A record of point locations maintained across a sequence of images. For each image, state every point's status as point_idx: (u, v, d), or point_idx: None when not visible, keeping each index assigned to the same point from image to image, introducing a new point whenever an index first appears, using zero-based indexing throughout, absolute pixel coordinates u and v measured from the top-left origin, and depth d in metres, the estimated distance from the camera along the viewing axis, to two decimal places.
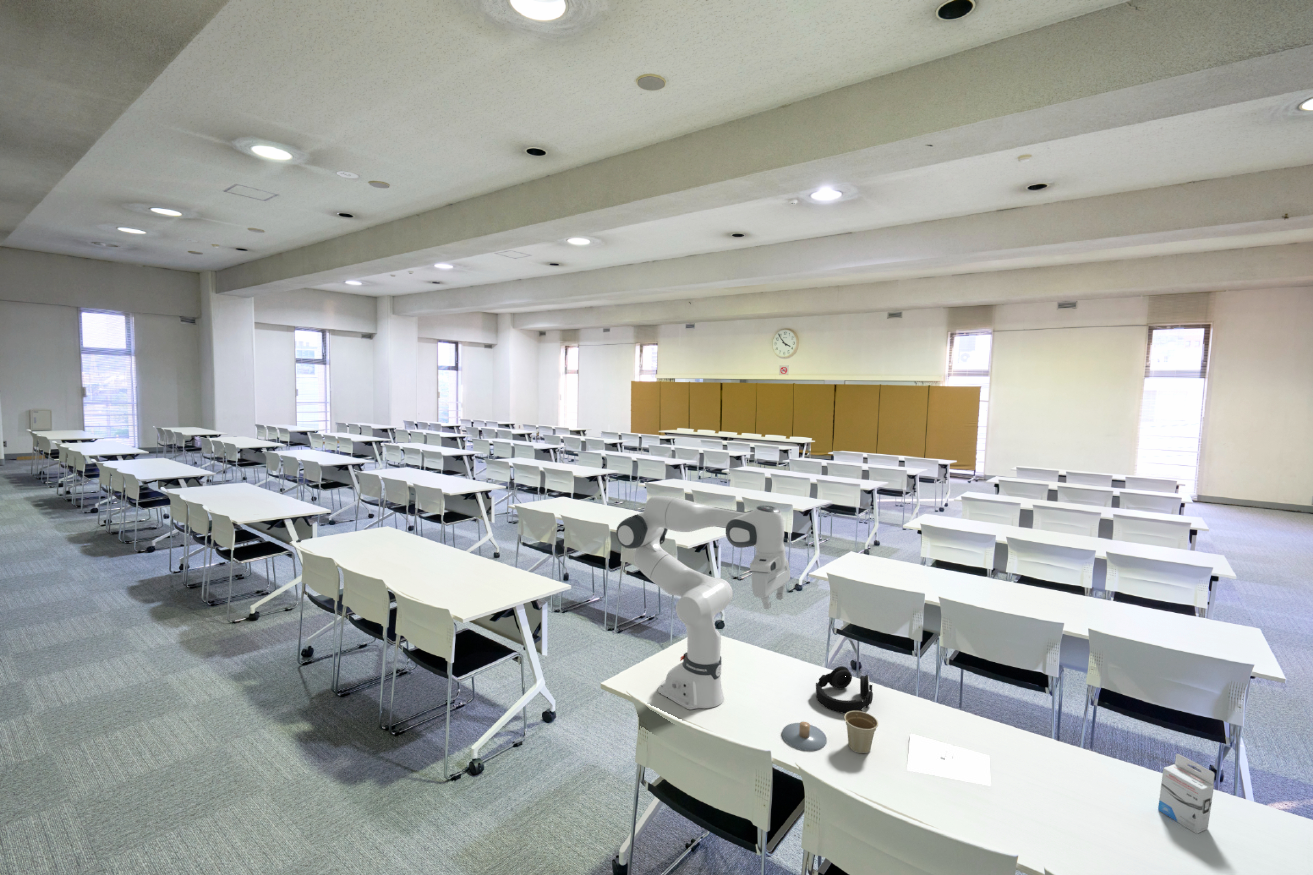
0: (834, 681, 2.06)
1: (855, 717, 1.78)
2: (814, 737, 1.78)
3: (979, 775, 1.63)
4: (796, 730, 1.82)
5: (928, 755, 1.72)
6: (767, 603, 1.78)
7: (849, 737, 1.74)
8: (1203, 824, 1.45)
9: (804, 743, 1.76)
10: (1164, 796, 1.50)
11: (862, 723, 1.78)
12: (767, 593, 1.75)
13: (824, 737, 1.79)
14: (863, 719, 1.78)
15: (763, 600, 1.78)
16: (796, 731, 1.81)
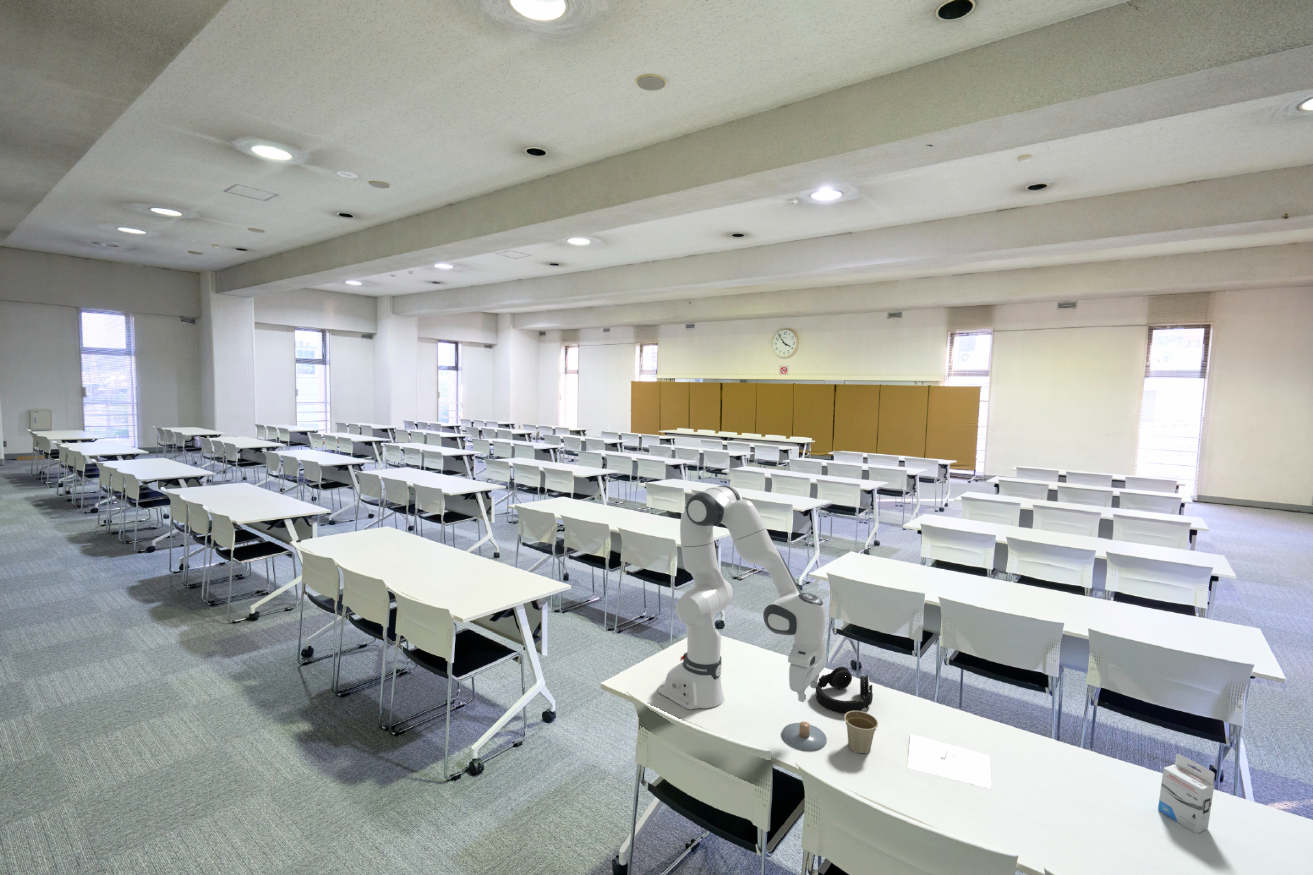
0: (834, 681, 2.05)
1: (855, 717, 1.78)
2: (814, 737, 1.78)
3: (979, 775, 1.63)
4: (796, 730, 1.82)
5: (928, 755, 1.72)
6: (802, 696, 1.73)
7: (849, 737, 1.74)
8: (1203, 824, 1.45)
9: (804, 743, 1.76)
10: (1164, 796, 1.50)
11: (862, 723, 1.78)
12: (804, 688, 1.70)
13: (824, 737, 1.79)
14: (863, 719, 1.78)
15: (798, 692, 1.73)
16: (796, 731, 1.81)
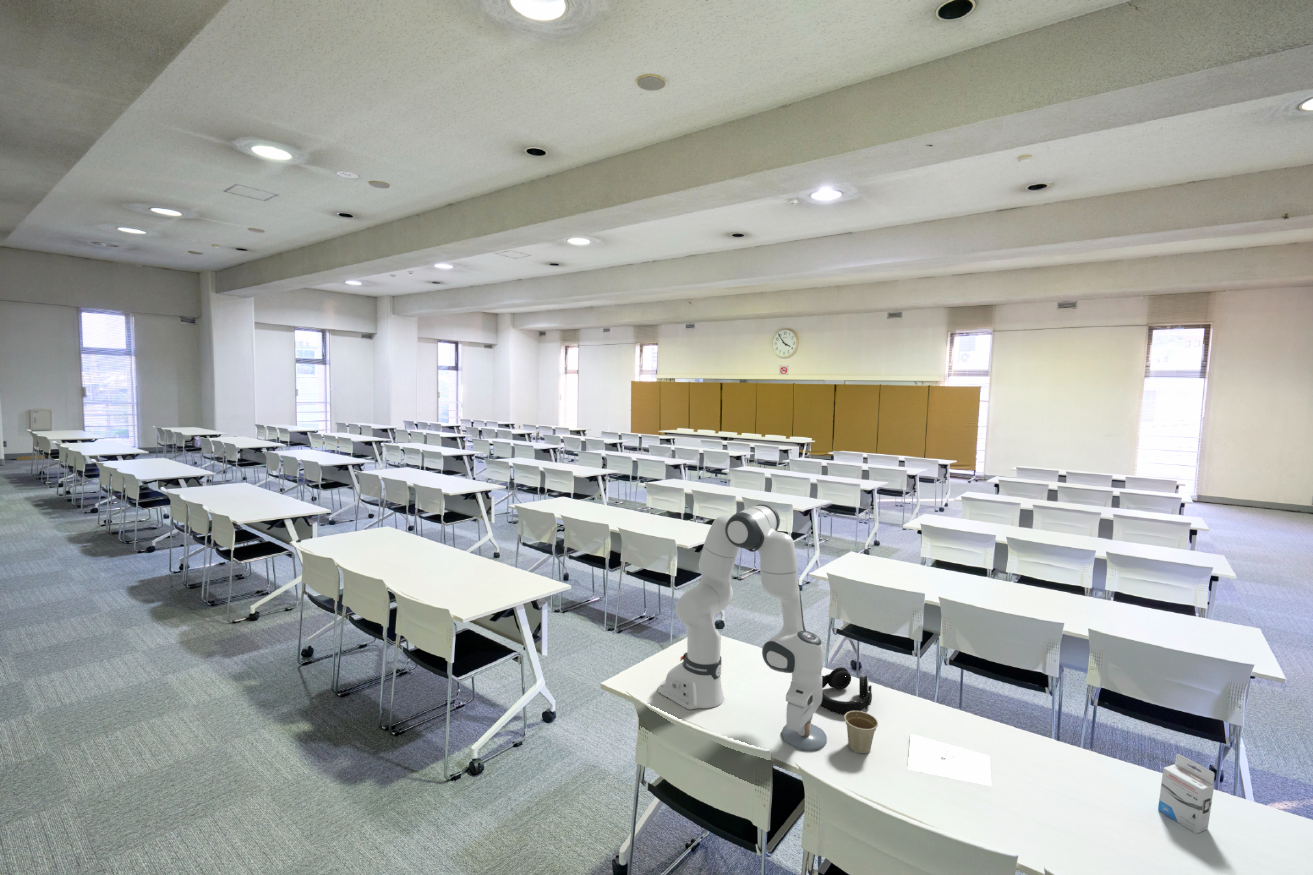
0: (833, 682, 2.05)
1: (855, 717, 1.78)
2: (814, 736, 1.78)
3: (980, 776, 1.63)
4: None
5: (928, 755, 1.72)
6: (802, 730, 1.76)
7: (849, 737, 1.74)
8: (1203, 824, 1.45)
9: (804, 742, 1.75)
10: (1164, 796, 1.50)
11: (862, 723, 1.78)
12: (801, 727, 1.71)
13: (824, 736, 1.79)
14: (863, 719, 1.78)
15: None
16: None
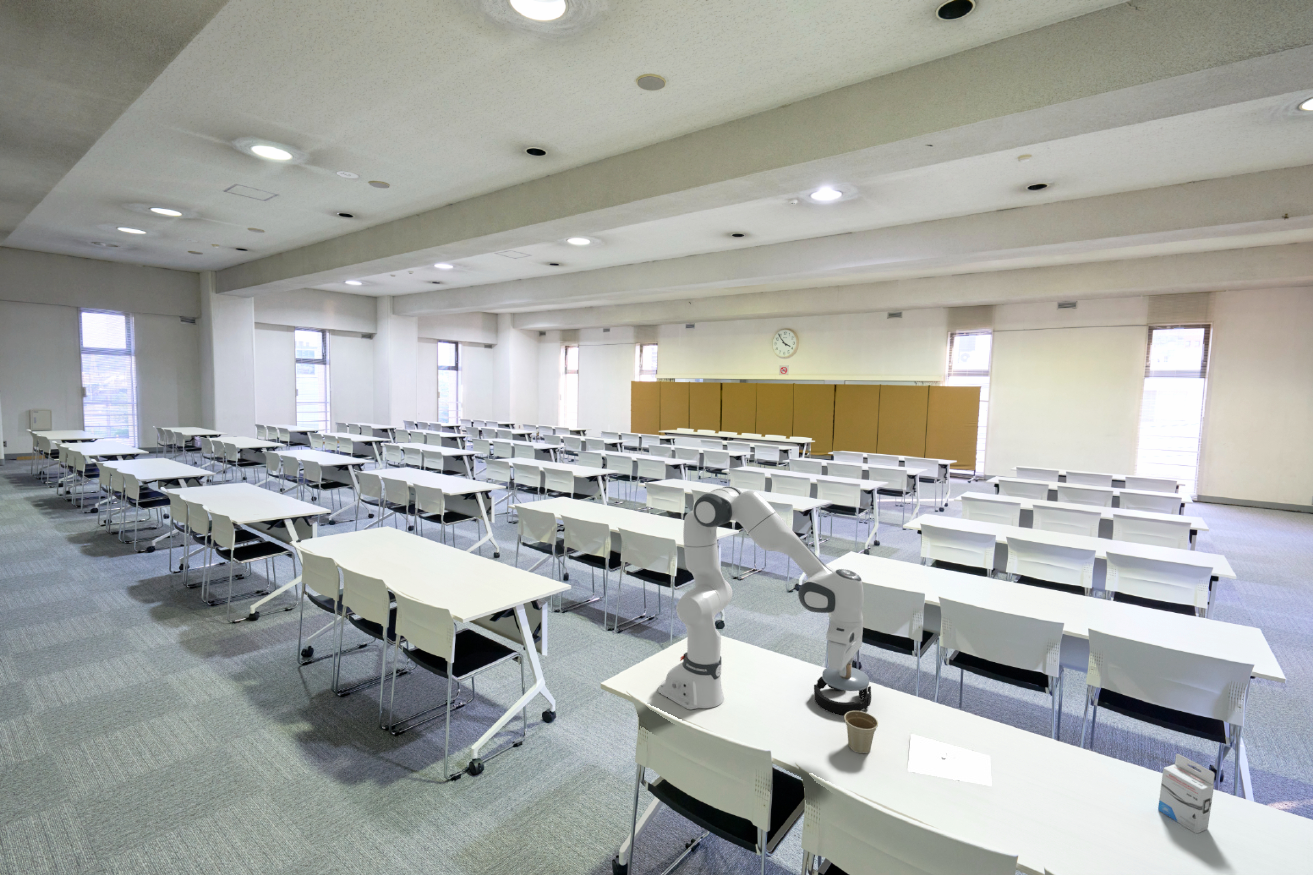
0: None
1: (855, 717, 1.78)
2: (856, 677, 1.73)
3: (980, 776, 1.63)
4: (837, 672, 1.76)
5: (929, 755, 1.72)
6: (844, 670, 1.71)
7: (849, 737, 1.74)
8: (1203, 824, 1.45)
9: (846, 683, 1.70)
10: (1164, 796, 1.50)
11: (862, 723, 1.78)
12: (843, 665, 1.66)
13: (866, 677, 1.73)
14: (863, 719, 1.78)
15: None
16: (837, 673, 1.76)
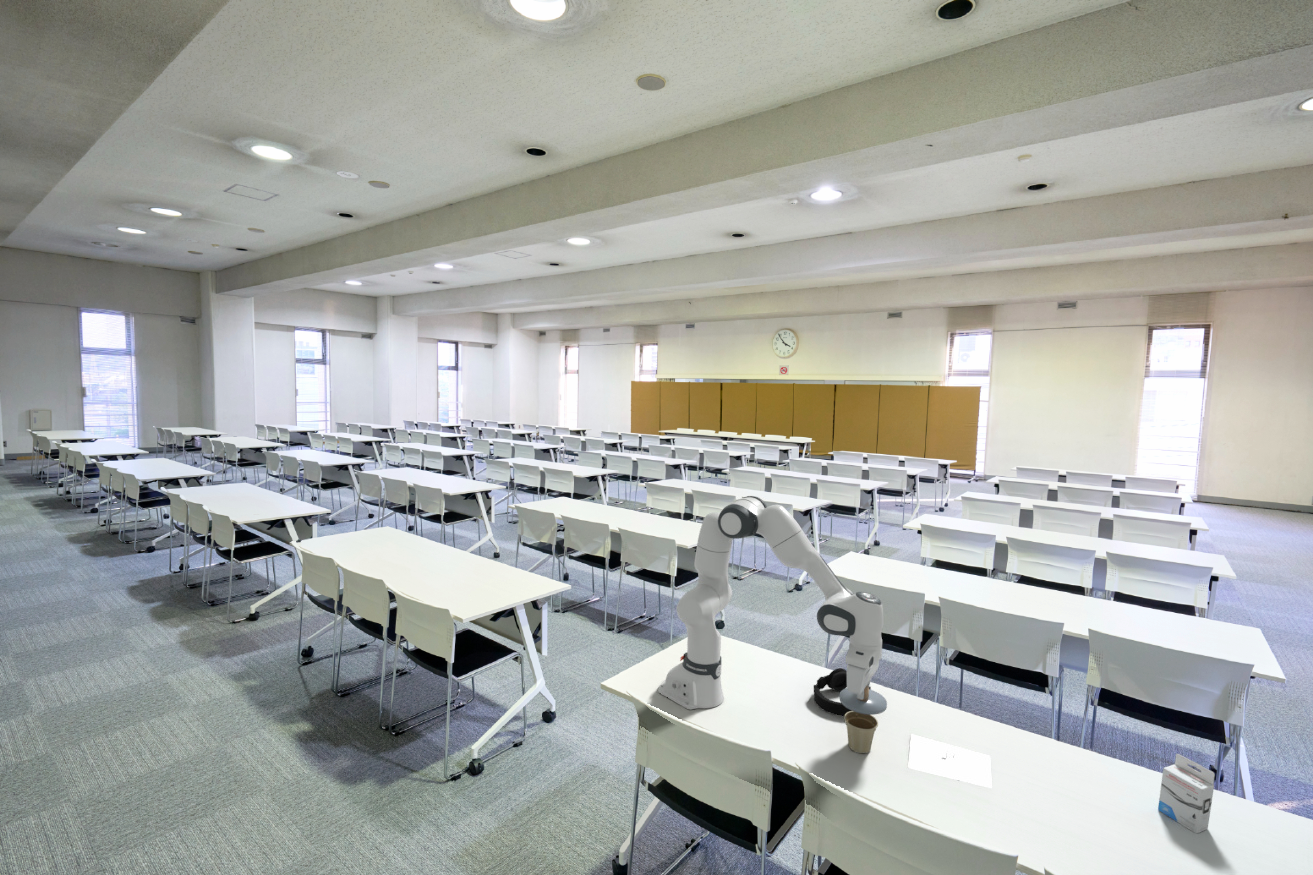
0: (832, 683, 2.04)
1: (855, 717, 1.78)
2: (873, 700, 1.72)
3: (980, 776, 1.63)
4: None
5: (929, 755, 1.72)
6: (862, 694, 1.70)
7: (849, 737, 1.74)
8: (1203, 824, 1.45)
9: (864, 706, 1.69)
10: (1164, 796, 1.50)
11: (862, 723, 1.78)
12: (862, 689, 1.65)
13: (884, 700, 1.73)
14: (863, 719, 1.78)
15: None
16: (854, 695, 1.75)
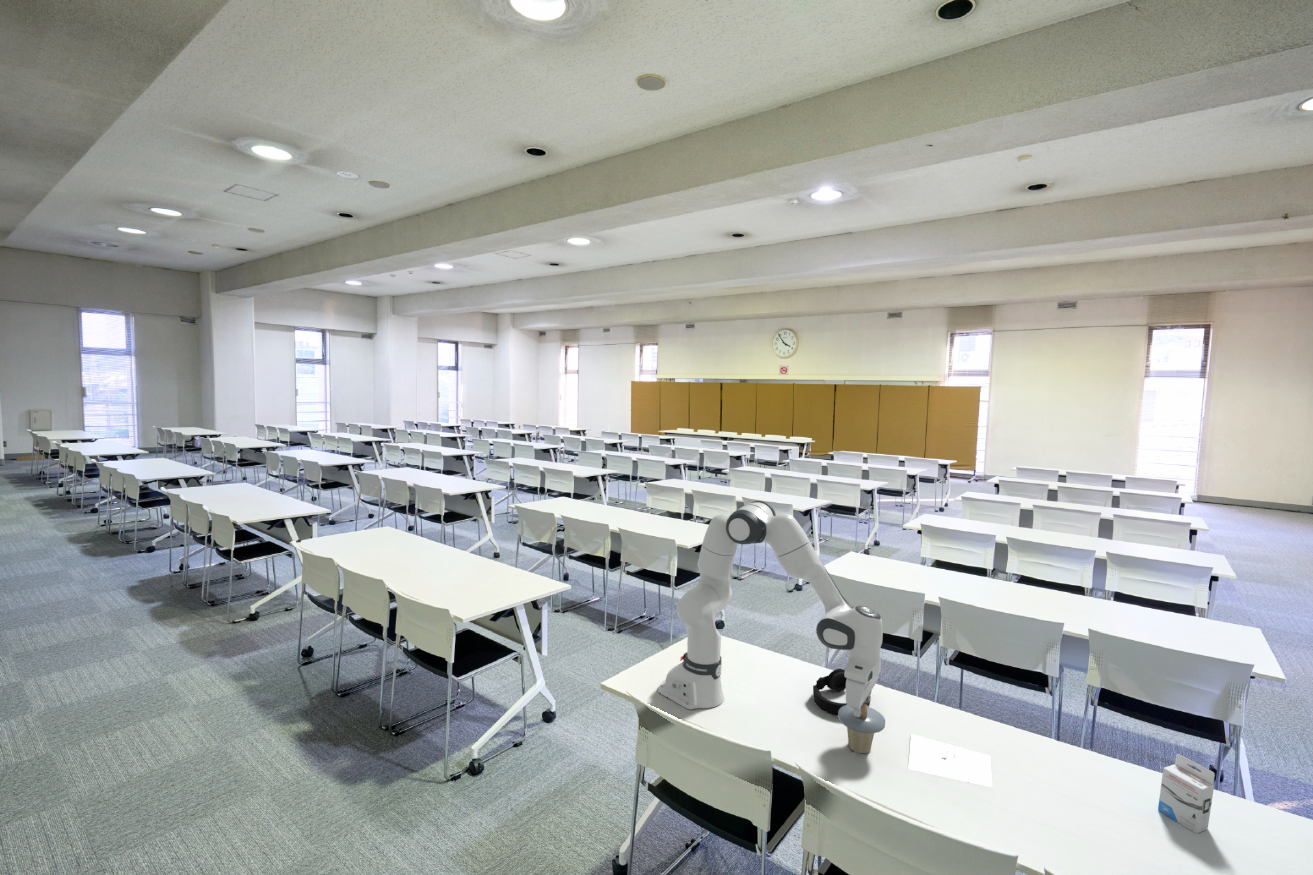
0: (832, 684, 2.04)
1: None
2: (872, 718, 1.73)
3: (980, 776, 1.63)
4: (852, 711, 1.77)
5: (929, 755, 1.72)
6: (858, 711, 1.69)
7: (849, 737, 1.74)
8: (1203, 824, 1.45)
9: (863, 724, 1.70)
10: (1164, 796, 1.50)
11: None
12: (861, 703, 1.66)
13: (882, 718, 1.73)
14: None
15: (854, 707, 1.69)
16: (852, 712, 1.76)
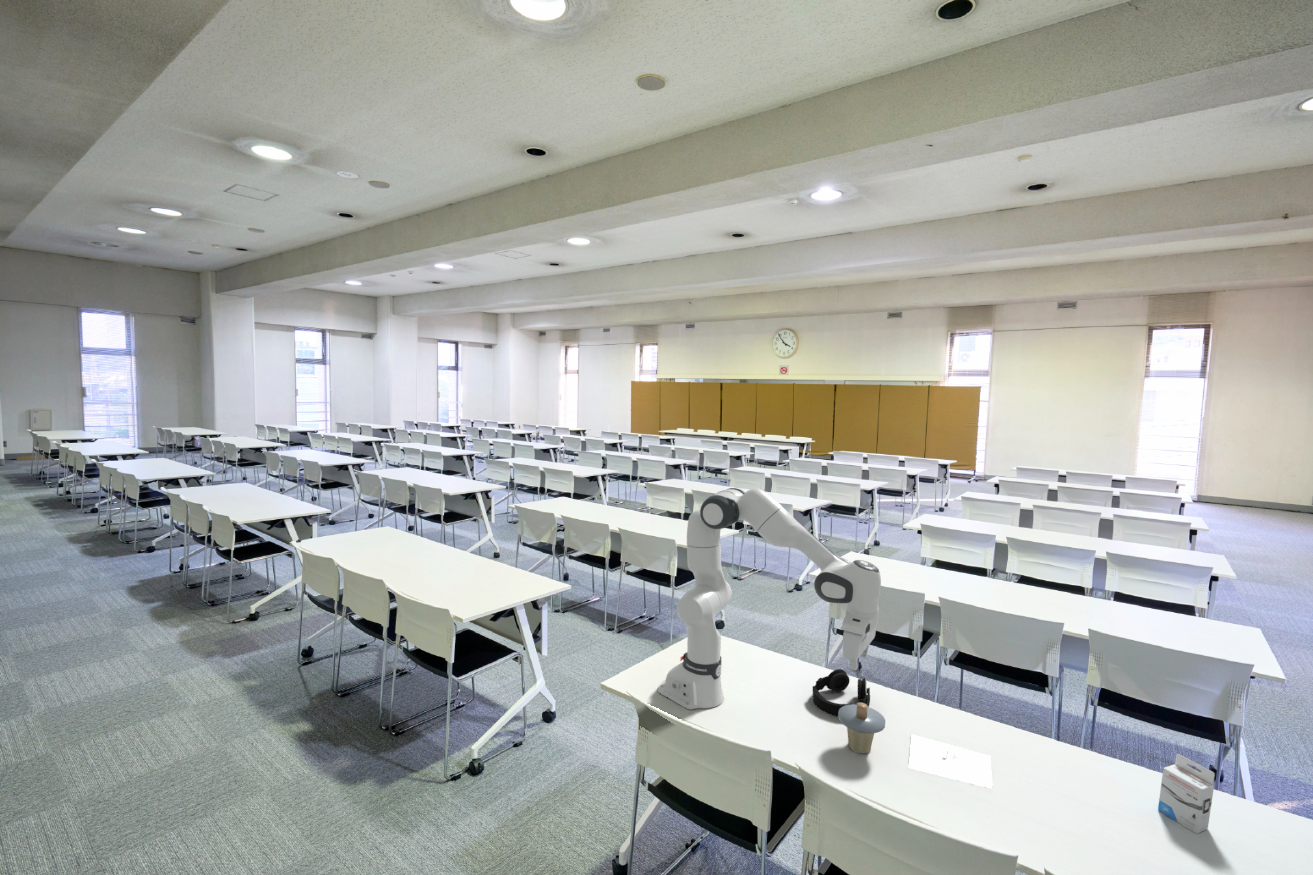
0: (831, 684, 2.04)
1: None
2: (872, 718, 1.73)
3: (981, 776, 1.63)
4: (852, 711, 1.77)
5: (929, 755, 1.72)
6: (855, 664, 1.69)
7: (849, 737, 1.74)
8: (1203, 824, 1.45)
9: (863, 724, 1.70)
10: (1164, 796, 1.50)
11: None
12: (858, 656, 1.66)
13: (882, 718, 1.73)
14: None
15: (850, 661, 1.69)
16: (852, 712, 1.76)
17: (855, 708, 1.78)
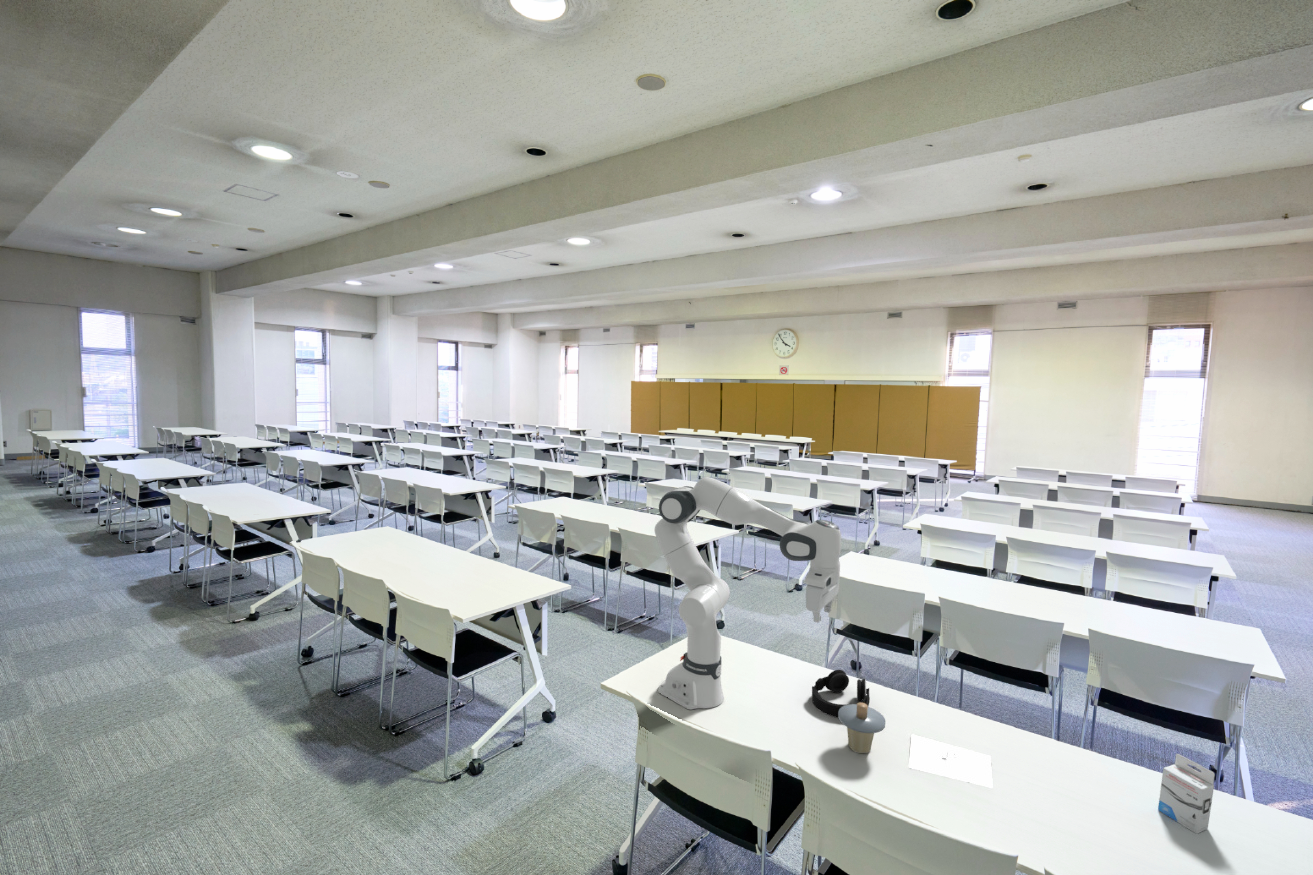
0: (831, 685, 2.03)
1: None
2: (872, 718, 1.73)
3: (981, 776, 1.63)
4: (853, 711, 1.77)
5: (929, 755, 1.72)
6: (818, 617, 1.80)
7: (849, 737, 1.74)
8: (1203, 824, 1.45)
9: (863, 724, 1.70)
10: (1164, 796, 1.50)
11: None
12: (820, 608, 1.77)
13: (882, 718, 1.73)
14: None
15: (814, 613, 1.80)
16: (853, 712, 1.76)
17: (855, 708, 1.78)
